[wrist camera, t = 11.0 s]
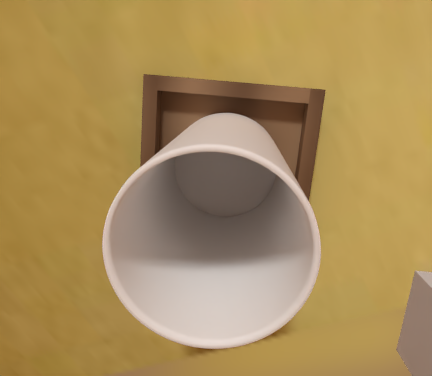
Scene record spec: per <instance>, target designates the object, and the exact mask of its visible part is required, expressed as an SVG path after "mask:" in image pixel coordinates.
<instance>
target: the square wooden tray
mask: <svg viewBox="0 0 432 376" xmlns="http://www.w3.org/2000/svg"><path fill="white" fill-rule="evenodd" d="M324 96H325V90H321V89H309V88H298V87H286V86H274V85H263V84H251V83H239V82H228V81H216V80H205V79H193V78H181V77H170V76H158V75H147V74H144V77H143V107H142V137H141V166H142V165H144V164H145V163H146V162H147V161H148V160H149V159H151V158H152V157H153V156H154V155H155V154H157V153H158V152H159V151H160V150H162V149H163V148H164V147H165V146H166V145H168V144H169V143H170V142H171V141H172V140H174V139H175V138H176V137H177V136H178V135H180V134H181V133H182V132H183V131H184V130H186V129H187V128H188V127H189V126H190V125H192V124H193V123H194V122H196V121H197V120H199V119H201V118H203V117H205V116H208V115H212V114H216V113H235V114H240V115H243V116H246V117H248V118H250V119H252V120H254V121H256V122H257V123H258V124H260V125H261V126H262V127H263V128H264V129H265V130H266V131H267V132H268V133H269V135H270V136H271V138H272V139H273V141H274V143H275V144H276V146H277V148H278V149H279V151H280V153H281V154H282V156H283V158H284V160H285V161H286V163H287V165H288V166H289V168H290V170H291V172H292V173H293V175H294V177H295V178H296V180H297V182H298V184H299V185H300V187H301V189H302V191H303V192H304V194H305V196H306V197H307V199H308V201H309V196H310V189H311V182H312V176H313V169H314V163H315V156H316V149H317V143H318V136H319V130H320V123H321V116H322V110H323V103H324ZM141 166H140V167H141Z"/></svg>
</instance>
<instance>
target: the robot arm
mask: <svg viewBox="0 0 432 376" xmlns="http://www.w3.org/2000/svg"><path fill="white" fill-rule="evenodd" d="M397 351H398V353H399V355H400V356H401V358H402V360H403V361H404V363H405V365H406V366H407V368H408V370H409V371H410V373H411V374H412V376H432V272H423V271H415V274H414V278H413V282H412V286H411V291H410V295H409V299H408V303H407V307H406V312H405V316H404V320H403V324H402V329H401V333H400V337H399V341H398V346H397Z"/></svg>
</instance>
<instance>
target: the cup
mask: <svg viewBox="0 0 432 376" xmlns="http://www.w3.org/2000/svg"><path fill="white" fill-rule="evenodd" d="M102 247H103V258H104V264H105V268H106V272H107V275H108V278H109V280H110V283H111V285H112V287H113V289H114V291H115V293H116V294H117V296H118V298H119V299H120V301H121V302H122V303H123V305H124V306H125V307H126V309H127V310H128V311H129V312H130V313H131V314H132V315H133V316H134V317H135V318H136V319H137V320H138V321H139V322H141V323H142V324H143V325H145V326H146V327H147V328H149V329H150V330H152V331H153V332H155V333H157V334H158V335H160V336H162V337H164V338H166V339H169V340H171V341H174V342H177V343H180V344H183V345H187V346H191V347H197V348H205V349H225V348H233V347H238V346H243V345H246V344H250V343H253V342H255V341H258V340H260V339H263V338H265V337H267V336H269V335H270V334H272V333H274V332H275V331H277V330H278V329H280V328H281V327H282V326H284V325H285V324H286V323H288V322H289V321H290V320H291V319H292V318H293V317H294V316H295V315H296V314H297V312H298V311H299V310H300V309H301V308H302V306H303V305H304V303H305V302H306V300H307V299H308V297H309V295H310V293H311V291H312V289H313V287H314V284H315V282H316V278H317V275H318V271H319V266H320V257H321V243H320V235H319V230H318V225H317V221H316V218H315V215H314V212H313V210H312V207H311V205H310V203H309V201H308V199H307V197H306V196H305V194H304V192H303V191H302V189H301V187H300V185H299V184H298V182H297V180H296V178H295V177H294V175H293V173H292V172H291V170H290V168H289V166H288V165H287V163H286V161H285V160H284V158H283V156H282V154H281V153H280V151H279V149H278V148H277V146H276V144H275V143H274V141H273V139H272V138H271V136H270V135H269V133H268V132H267V131H266V130H265V129H264V128H263V127H262V126H261V125H260V124H258V123H257V122H256V121H254V120H252V119H250V118H248V117H246V116H243V115H240V114H235V113H216V114H212V115H208V116H205V117H203V118H201V119H199V120H197V121H196V122H194V123H193V124H192V125H190V126H189V127H188V128H187V129H186V130H184V131H183V132H182V133H181V134H180V135H178V136H177V137H176V138H175V139H174V140H172V141H171V142H170V143H169V144H168V145H166V146H165V147H164V148H163V149H162V150H160V151H159V152H158V153H157V154H155V155H154V156H153V157H152V158H151V159H149V160H148V161H147V162H146V163H145V164H144V165H142V166H141V167H140V168H139V169H138V170H136V171H135V172H134V173H133V174H132V175H131V176H130V177H129V178H128V180H127V181H126V182H125V183H124V185H123V186H122V187H121V189H120V191H119V192H118V194H117V195H116V197H115V199H114V201H113V203H112V205H111V207H110V209H109V212H108V214H107V217H106V221H105V225H104V231H103V245H102Z"/></svg>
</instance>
